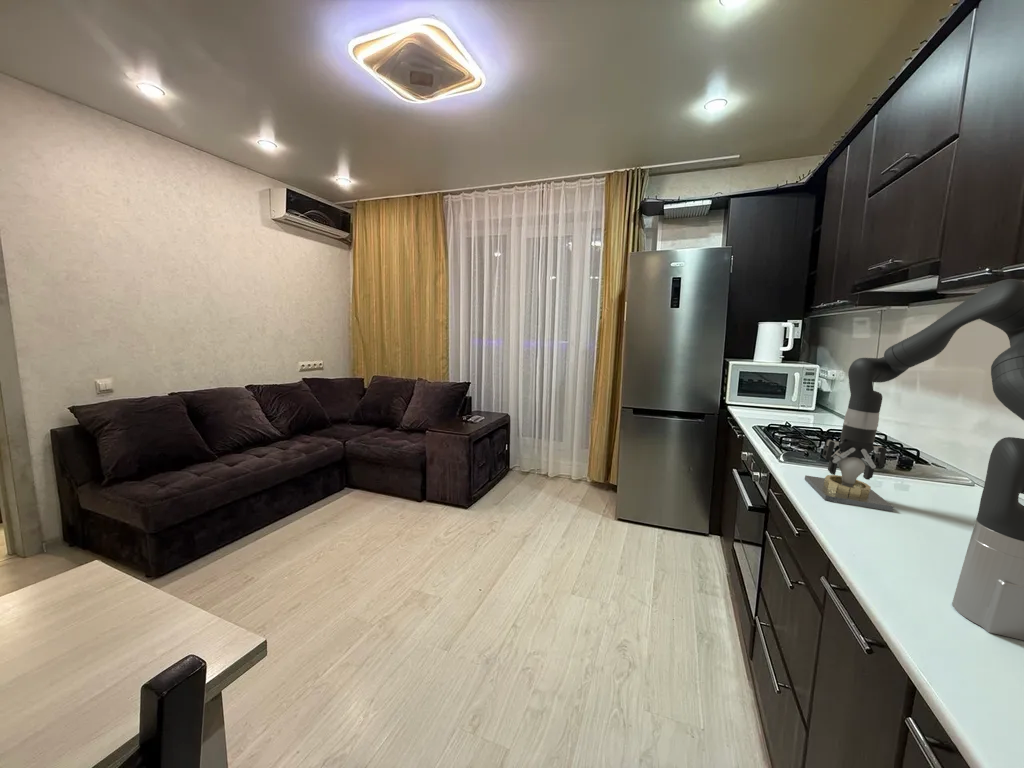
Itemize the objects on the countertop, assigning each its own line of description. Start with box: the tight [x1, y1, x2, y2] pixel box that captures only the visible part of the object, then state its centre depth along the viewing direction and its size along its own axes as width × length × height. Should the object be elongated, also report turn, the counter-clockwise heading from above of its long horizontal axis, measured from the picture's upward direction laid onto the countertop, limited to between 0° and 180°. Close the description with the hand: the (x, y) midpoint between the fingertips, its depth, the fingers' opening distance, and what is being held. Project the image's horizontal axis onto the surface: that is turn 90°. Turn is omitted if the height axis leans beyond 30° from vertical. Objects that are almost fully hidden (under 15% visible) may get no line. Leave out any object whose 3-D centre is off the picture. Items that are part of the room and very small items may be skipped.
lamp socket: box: [803, 474, 895, 512], centre depth 119 cm, size 16×16×4 cm
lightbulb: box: [837, 456, 866, 487], centre depth 118 cm, size 6×6×11 cm
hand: (848, 476), depth 119 cm, fingers open, 8 cm apart
